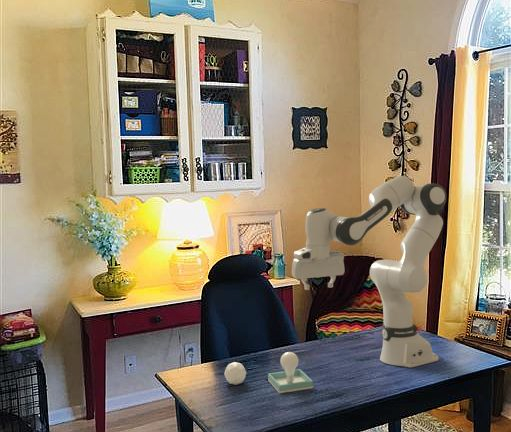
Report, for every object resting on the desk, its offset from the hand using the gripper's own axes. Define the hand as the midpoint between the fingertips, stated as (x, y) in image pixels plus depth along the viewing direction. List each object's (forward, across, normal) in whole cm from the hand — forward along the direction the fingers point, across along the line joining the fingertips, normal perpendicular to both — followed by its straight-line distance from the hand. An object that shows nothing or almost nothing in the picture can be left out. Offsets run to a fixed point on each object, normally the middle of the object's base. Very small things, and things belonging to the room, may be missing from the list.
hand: (318, 288), depth 216 cm
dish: (+31, +16, +10) cm, 36 cm away
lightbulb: (+31, +16, +10) cm, 36 cm away
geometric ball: (+31, +34, +2) cm, 46 cm away
